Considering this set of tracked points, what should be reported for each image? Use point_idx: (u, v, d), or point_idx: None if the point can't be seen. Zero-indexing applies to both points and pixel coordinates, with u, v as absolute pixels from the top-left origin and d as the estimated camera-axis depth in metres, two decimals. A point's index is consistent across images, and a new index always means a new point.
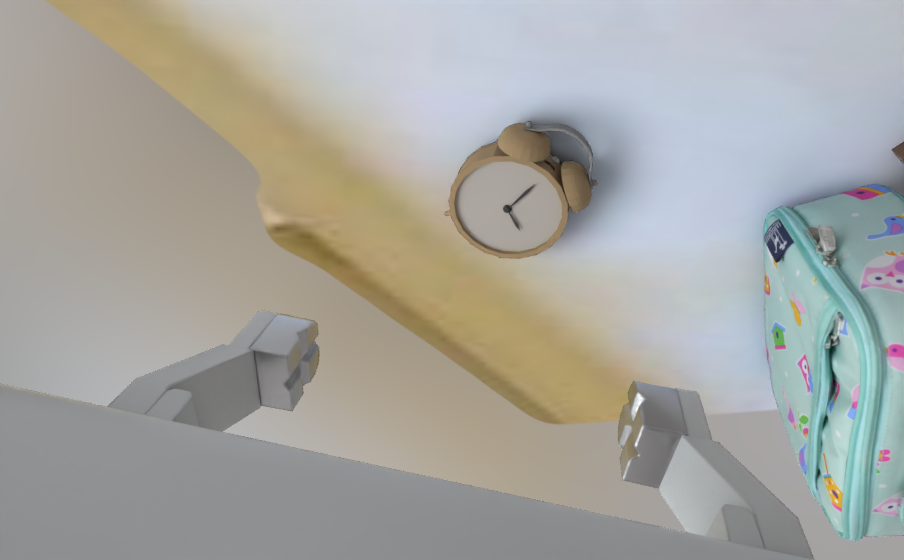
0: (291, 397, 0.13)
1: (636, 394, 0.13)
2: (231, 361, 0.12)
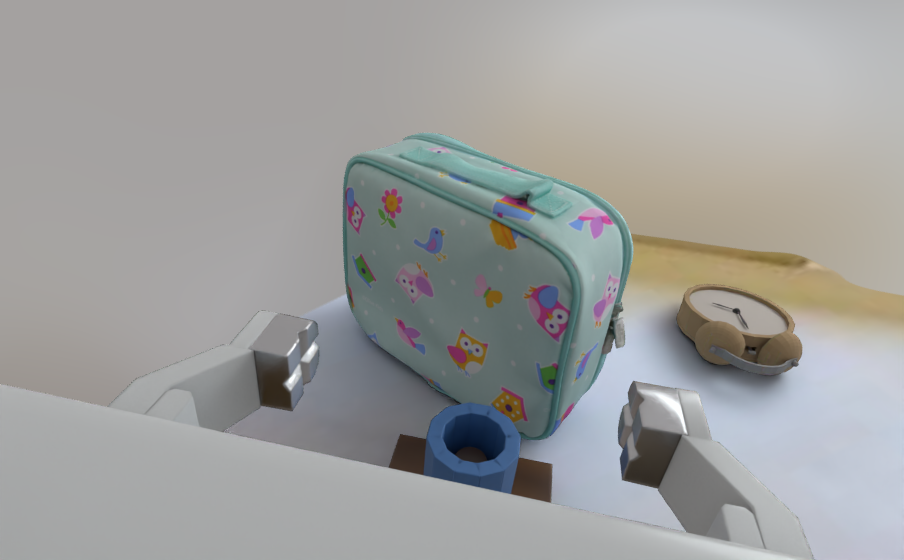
0: (291, 397, 0.13)
1: (636, 394, 0.13)
2: (231, 361, 0.12)
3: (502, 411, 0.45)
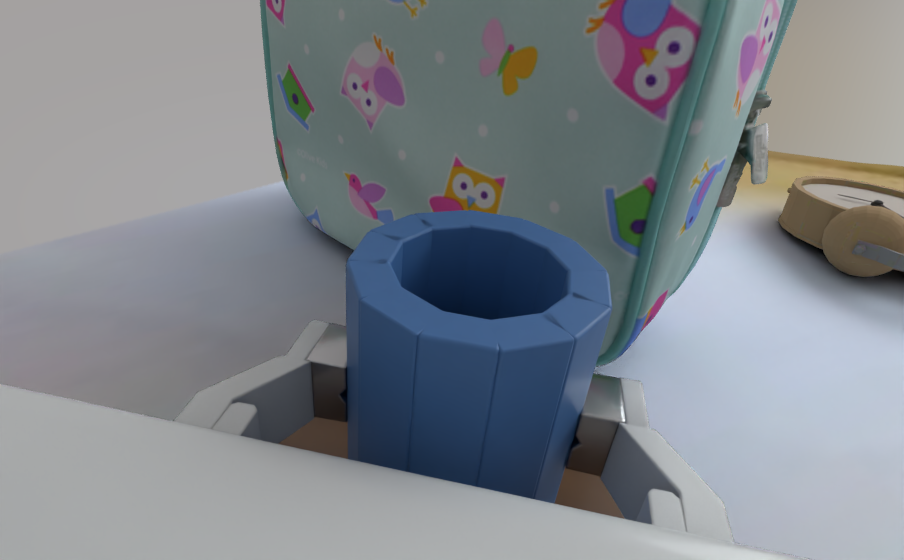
0: (346, 408, 0.13)
1: None
2: (290, 373, 0.12)
3: None
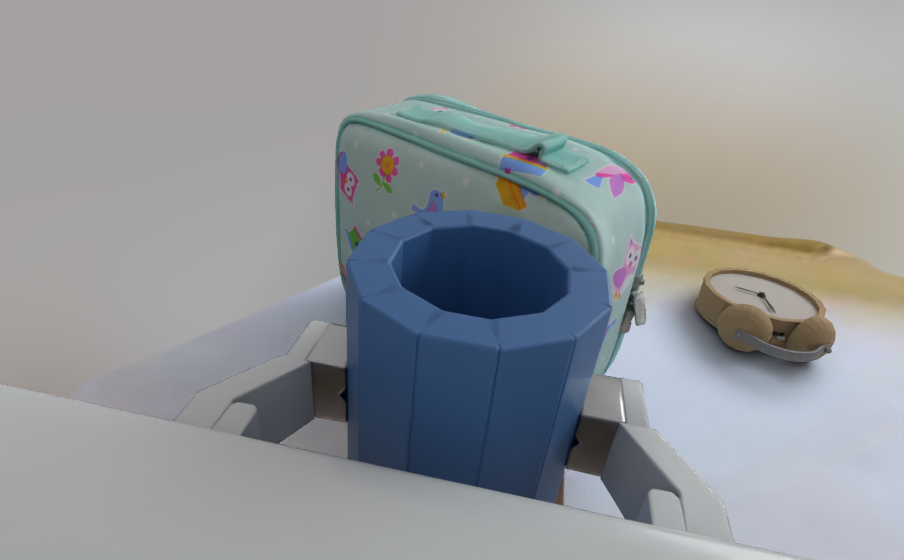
0: (346, 408, 0.13)
1: None
2: (290, 373, 0.12)
3: None
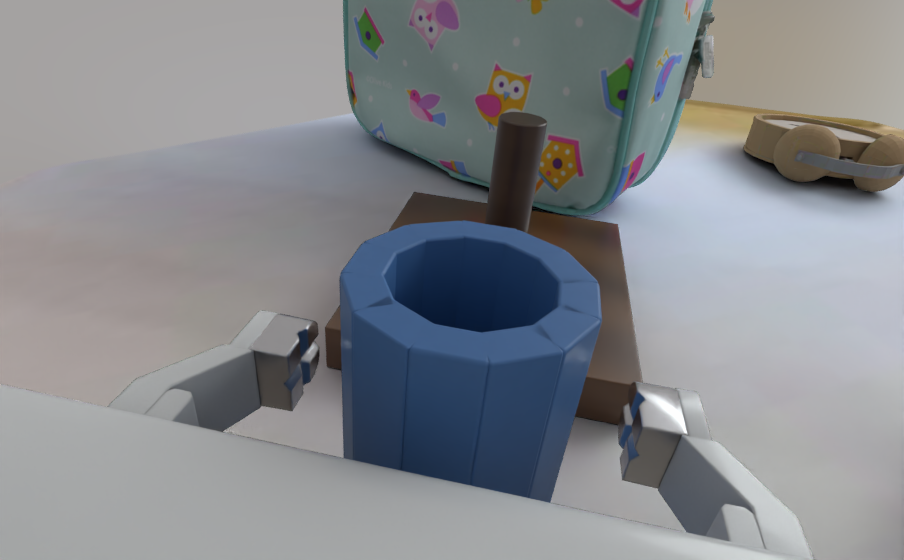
0: (291, 397, 0.13)
1: (636, 394, 0.13)
2: (231, 361, 0.12)
3: (548, 172, 0.34)
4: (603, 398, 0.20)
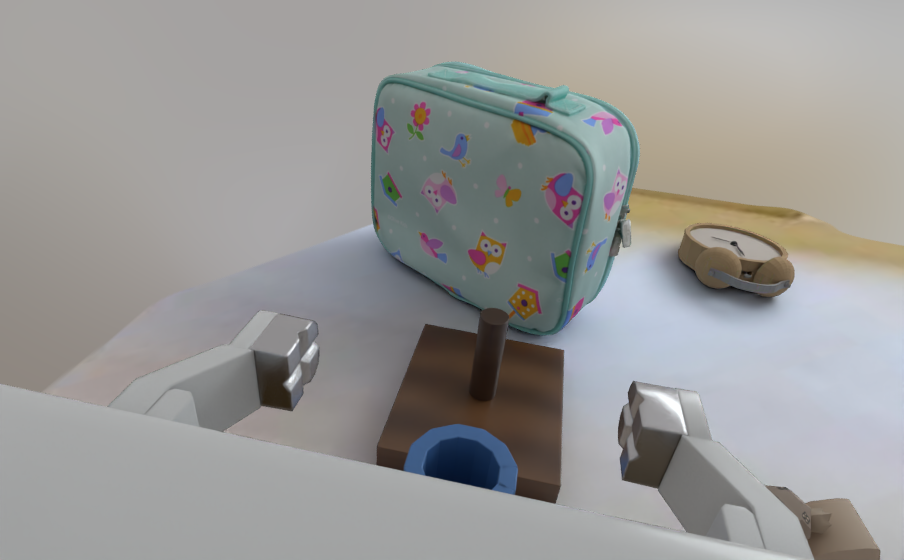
0: (291, 397, 0.13)
1: (636, 394, 0.13)
2: (231, 361, 0.12)
3: (518, 307, 0.49)
4: (538, 490, 0.35)
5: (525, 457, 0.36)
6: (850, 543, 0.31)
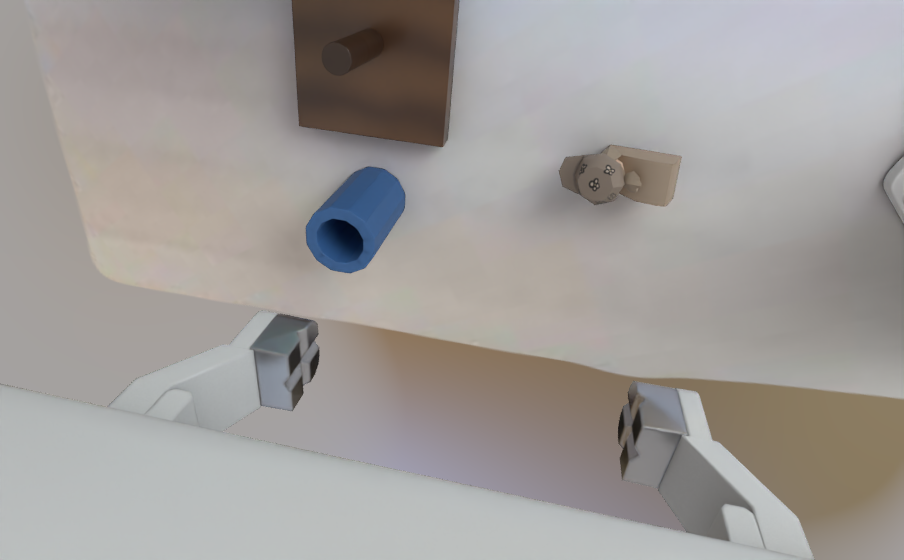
0: (291, 397, 0.13)
1: (636, 394, 0.13)
2: (231, 361, 0.12)
3: None
4: None
5: (415, 121, 0.43)
6: (647, 199, 0.41)
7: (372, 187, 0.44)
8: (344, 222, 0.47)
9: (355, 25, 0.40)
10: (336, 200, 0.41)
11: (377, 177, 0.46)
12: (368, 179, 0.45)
